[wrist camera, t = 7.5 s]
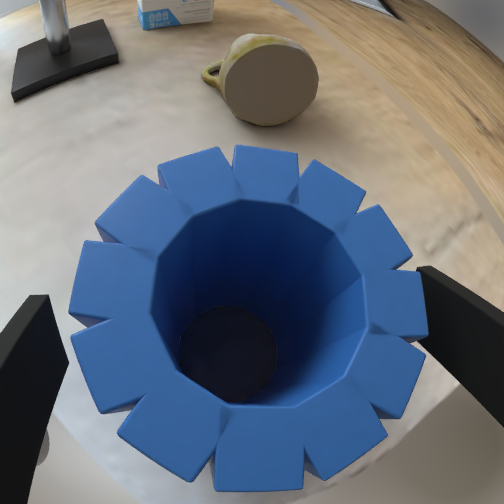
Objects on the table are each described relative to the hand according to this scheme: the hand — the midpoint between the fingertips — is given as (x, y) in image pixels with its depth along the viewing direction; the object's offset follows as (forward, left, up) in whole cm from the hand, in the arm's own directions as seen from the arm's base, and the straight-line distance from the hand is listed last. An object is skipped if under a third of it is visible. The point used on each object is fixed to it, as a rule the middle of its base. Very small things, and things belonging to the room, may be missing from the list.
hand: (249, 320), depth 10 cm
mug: (+11, +18, -7) cm, 22 cm away
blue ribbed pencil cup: (0, 0, -7) cm, 7 cm away
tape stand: (-4, +33, -7) cm, 34 cm away
